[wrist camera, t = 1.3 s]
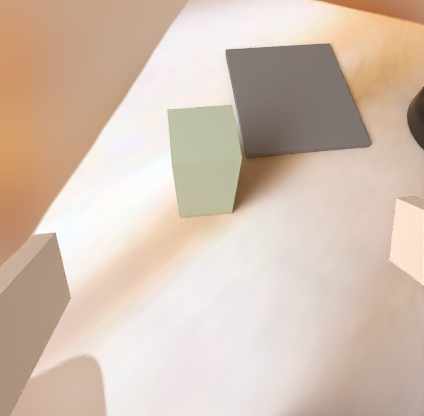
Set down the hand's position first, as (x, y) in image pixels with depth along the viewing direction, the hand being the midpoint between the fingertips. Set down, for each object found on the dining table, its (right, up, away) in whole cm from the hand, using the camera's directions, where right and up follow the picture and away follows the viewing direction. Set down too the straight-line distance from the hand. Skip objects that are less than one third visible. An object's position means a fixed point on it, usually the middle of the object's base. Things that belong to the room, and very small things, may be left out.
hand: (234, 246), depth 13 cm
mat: (+10, +17, +34) cm, 39 cm away
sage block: (-2, +3, +26) cm, 27 cm away
